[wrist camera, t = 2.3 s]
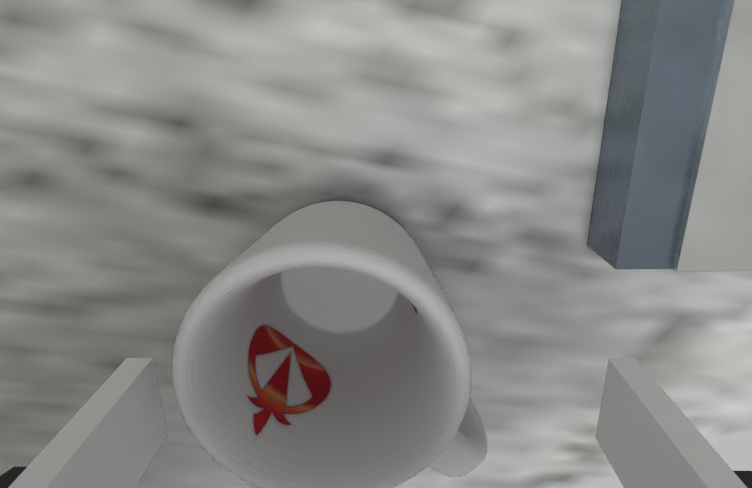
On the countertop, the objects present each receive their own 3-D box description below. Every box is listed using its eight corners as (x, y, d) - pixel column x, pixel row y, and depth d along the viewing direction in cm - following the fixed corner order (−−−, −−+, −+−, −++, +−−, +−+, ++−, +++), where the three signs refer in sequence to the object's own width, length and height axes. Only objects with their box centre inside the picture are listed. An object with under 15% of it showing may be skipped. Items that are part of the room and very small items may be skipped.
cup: (522, 308, 21) (604, 445, 13) (393, 419, 23) (401, 592, 15) (334, 132, 18) (303, 178, 11) (207, 274, 20) (106, 395, 13)
